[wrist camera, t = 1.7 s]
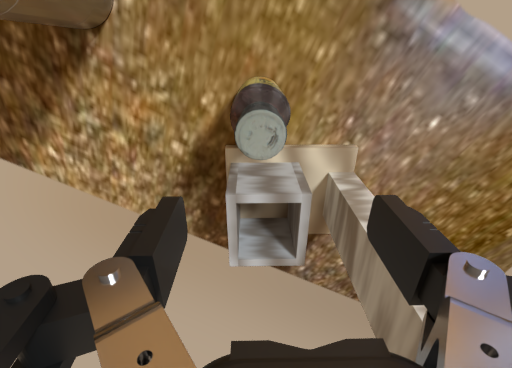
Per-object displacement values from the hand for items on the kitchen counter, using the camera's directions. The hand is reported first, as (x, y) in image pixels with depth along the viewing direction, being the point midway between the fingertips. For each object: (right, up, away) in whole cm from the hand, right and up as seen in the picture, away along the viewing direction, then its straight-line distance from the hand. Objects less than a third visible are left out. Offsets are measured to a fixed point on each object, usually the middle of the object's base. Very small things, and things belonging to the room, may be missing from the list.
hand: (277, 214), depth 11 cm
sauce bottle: (-1, +14, +27) cm, 30 cm away
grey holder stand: (+4, 0, +34) cm, 34 cm away
